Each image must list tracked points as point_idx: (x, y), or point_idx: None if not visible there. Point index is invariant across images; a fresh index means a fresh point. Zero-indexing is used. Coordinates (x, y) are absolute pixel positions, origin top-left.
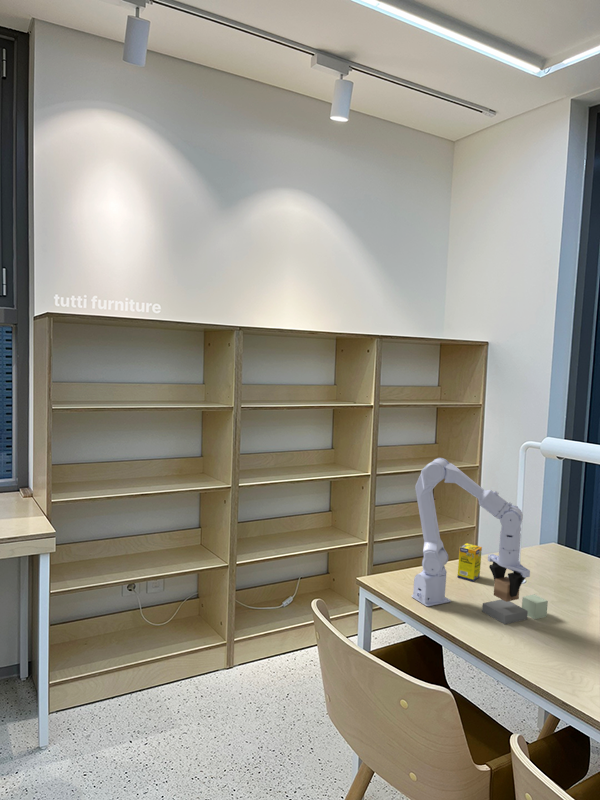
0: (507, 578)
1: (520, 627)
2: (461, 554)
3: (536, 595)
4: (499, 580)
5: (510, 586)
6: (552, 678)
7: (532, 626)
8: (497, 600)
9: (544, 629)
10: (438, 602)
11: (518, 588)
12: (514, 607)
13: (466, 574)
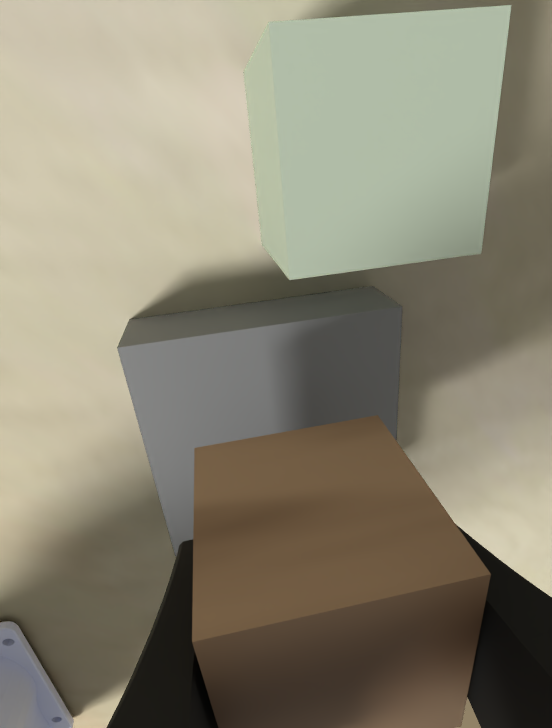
0: (274, 664)
1: (438, 408)
2: None
3: (314, 25)
4: None
5: (471, 683)
6: None
7: (465, 326)
8: (146, 433)
9: (532, 274)
10: (38, 686)
11: (489, 564)
12: (309, 376)
13: None
